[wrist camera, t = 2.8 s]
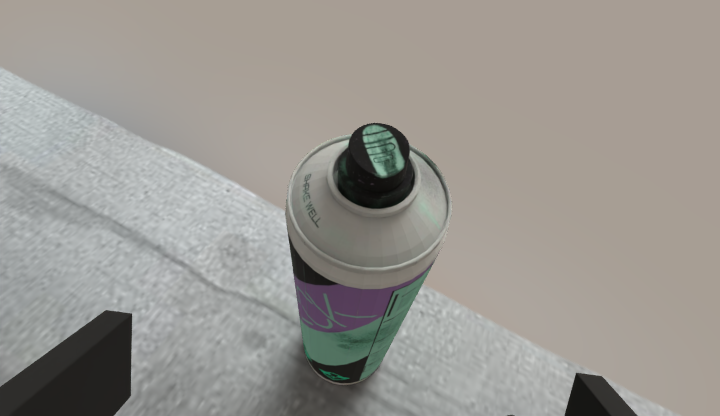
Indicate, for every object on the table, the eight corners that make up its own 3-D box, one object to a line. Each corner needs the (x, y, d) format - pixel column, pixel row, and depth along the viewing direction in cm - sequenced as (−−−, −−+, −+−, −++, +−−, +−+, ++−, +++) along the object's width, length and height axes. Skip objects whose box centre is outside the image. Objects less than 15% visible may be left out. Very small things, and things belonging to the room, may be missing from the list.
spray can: (340, 287, 30) (362, 51, 13) (401, 336, 29) (514, 139, 12) (286, 347, 28) (232, 149, 11) (350, 404, 26) (402, 277, 9)
